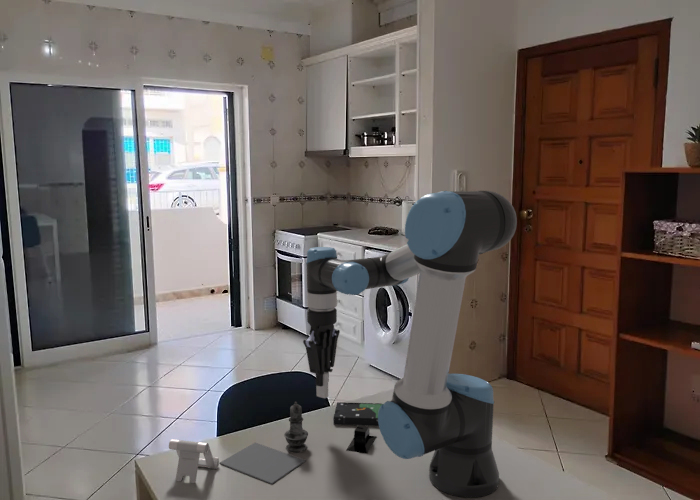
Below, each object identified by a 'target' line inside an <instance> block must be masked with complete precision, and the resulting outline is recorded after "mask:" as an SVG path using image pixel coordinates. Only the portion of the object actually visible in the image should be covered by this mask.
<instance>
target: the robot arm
mask: <svg viewBox="0 0 700 500" xmlns="http://www.w3.org/2000/svg"><path fill="white" fill-rule="evenodd" d="M517 220H518V219H517V213H516V210H515V208H514V206H513V205H512V203H511V202H510V200H509V199H507V198H506V197H505V196H504V195H502V194H500V193H498V192H495V191H493V190H492V191H491V190H477V191H476V190H473V191H472V190H470V191H465V190H463V191H462V190H461V191H458V190H456V191H449V190H443V191H437V192H432V193H431V192H430V193H427V194H425V195H423V196H421V197H420V198H419V199H418V200H416V201H415V202H414V203H413V204H412V206H411V207H410V209H409V212H408V214H407V217H406V220H405V224H404V225H405V226H404V235H405V236H404V237H405V238H406V239H407V242H406V244H404V245H402V246H401V247H399V248H396V249H395V250H392V251H390V252H388V253H387V254H384V255H381V256H376V257H367V258H357V259H348V260H347V259H346V260H344V259H339V258H338V255H337V250H336V249H335V248H334V247H331V246H330V247H329V246H314V247H310V248H309V249H308V250H307V252H306V262H305V265H306V290H307V291H306V293H307V294H306V295H307V296H306V299H307V302H306V303H307V305H306V306H307V307H308V308H307V310H306V315H307V317H306V318H307V319H306V321H307V324H309V326H310V329H309V336H308V338H304V339H303V341H302V343H303V345H304V347H305V351H306V357H307V361H308V367H309V368H308V369H309V373H312V374H315V385H316V386H315V387H316V388H315V389H316V397H318V398H322V399H327V398H328V397H329V381H330V379H329V378H330V377H329V376H330V375H329V373H332V372H333V369H332V368H334V367H335V361H336V353H337V345H338V339H339V336H340V333H341V330H340V329H338V328H337V329H336V328H335V324H336V323H337V320H338V312H337V308H336V307H337V306H338V298H337V297H338V296H337V294H338V292H339V293H341V294H343V295H349V296H357V295H360V294H361V293H363V292H364V291H365V290H371V289H376V288H382V287H383V288H384V287H395V286H399V285H404V284H405V283H407V282H408V281H409V279H410V278H412V277H414V276H417V275H418V281H417V287H416V288H417V289H416V295H415V301H414V308H413V314H412V322H411V326H410V332H409V338H408V339H409V340H408V345H407V346H408V347H407V353H406V359H405V363H404V364H405V366H404V372H403V377H402V378H400V379H398V380H397V381H396V382H395V384H394V388H393V392H392V393H393V394H392V399H391V400H387V401H385V402H384V403H382V404H383V405H381V406H380V408H379V411H378V424H379V426H378V427H379V431H380V434H381V436H382V439H383V441H384V443H385V444H386V446H387V447H388V449H389V450H390V451H391V452H392V453H393V454H395V456H397V457H399V458H400V459H404V460H410V459H413V458H418V457H419V458H420V457H422V456H424V455H426V454H429V453H432V452H433V454H432V458H431V460H430V464H429V466H428V469H429V470H428V471H429V472H428V478H429V481H430V482H431V484H432V485H433V486H434V487H435V488H436V489H438V490H439V491H442V492H443V493H445V494H448V495H452V496H455V497H460V498H469V499H470V498H480V497H481V498H482V497H485V496H488V495H490V494H493V493H494V492H496V490H497V489H498V487H499V484H500V473H499V472H500V471H499V468H498V466H497V465H498V464H497V462H496V460H495V455H494V452H493V447H492V446H493V444H492V443H493V428H494V427H493V426H494V425H493V424H494V406H495V405H494V404H495V400H494V389H493V388H494V387H492V385H491V383H489V382H488V381H486V380H485V379H482V378H480V377H477V376H473V375H469V374H465V373H449V372H450V368H451V362H452V357H453V351H454V345H455V341H456V340H455V339H456V334H457V329H458V325H459V324H458V323H459V318H460V312H461V307H462V301H463V296H464V290H465V285H466V278H467V277H468V276H469V275H471V274H473V273H474V272H476V270H477V265H478V261H479V256H480V255H482V254H485V253H488V252H491V251H495V250H499V249H501V248H503V247H504V246H506V245H507V244H508V243H509V242H510V241H511V240H512V238H513V237H514V236H515V233H516V230H517V225H518V224H517V223H518V221H517Z"/></svg>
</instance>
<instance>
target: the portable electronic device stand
mask: <svg viewBox="0 0 700 500" xmlns="http://www.w3.org/2000/svg"><path fill="white" fill-rule="evenodd" d="M168 448H169V450H172V451H176V453H177V457H178V462H177V468H176V475H175V481H177V482H182V480H183V477H184V476H186V477H189V483H190V484H194V483H196V482H197V475H198V468H207V469H211V470H213V469H215V470H216V469H218V468H219V465H220V460H219V457H214V456H213V453H212V451H211V447H210V445H209V443H208V442H201V441H200V442H198V441H191V440H190V441H189V440H181V439H174V438H173V439H170V440H169V442H168ZM201 454H203V457H204V458H200V455H201Z"/></svg>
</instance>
